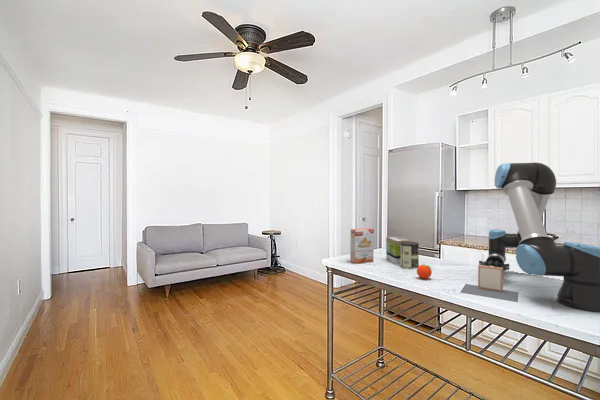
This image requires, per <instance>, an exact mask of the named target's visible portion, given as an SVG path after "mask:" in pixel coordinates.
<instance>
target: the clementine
mask: <svg viewBox="0 0 600 400" xmlns="http://www.w3.org/2000/svg"><path fill="white" fill-rule="evenodd" d="M416 274H417V275H418V277H419V278H421V279H424V280H427V279H429V278H430V277H431V276H432V267H431V266H430V265H429V264H420V265H419V267H418V268H417V269H416Z"/></svg>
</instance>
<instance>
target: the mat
mask: <svg viewBox="0 0 600 400" xmlns="http://www.w3.org/2000/svg"><path fill="white" fill-rule="evenodd" d="M459 293H462V294H466V295H474V296H479V297H484V298H491V299H497V300H501V301H507V302H513V303H519V291H514V290H509V289H503V292H499V291H493V290H487V289H480V288H478V285H475V284H471V283H470V284H468V283H465V284H464V285H463V287H462V289H461V290H460V292H459Z"/></svg>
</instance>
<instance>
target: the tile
mask: <svg viewBox="0 0 600 400" xmlns="http://www.w3.org/2000/svg"><path fill="white" fill-rule="evenodd" d="M477 267H478V269H477V270H478V271H477V272H478V273H477V277H478V278H477V279H478V280H477V282H478V283H477V286H478V288H480V289H487V290H493V291H499V292H503V290H504V271H503V268H501V267H492V266H484V265H479V264H478V266H477Z"/></svg>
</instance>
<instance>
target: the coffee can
mask: <svg viewBox="0 0 600 400" xmlns="http://www.w3.org/2000/svg"><path fill="white" fill-rule="evenodd" d="M419 252H420V251H419V243H418V242H417V241H416V242H415V241H411V242H400V264H399V267H400V268H402V269H405V270H406V269H407V270H417V268H418V267H419V266H420V265H419V262H420V261H419V260H420V258H419Z"/></svg>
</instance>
